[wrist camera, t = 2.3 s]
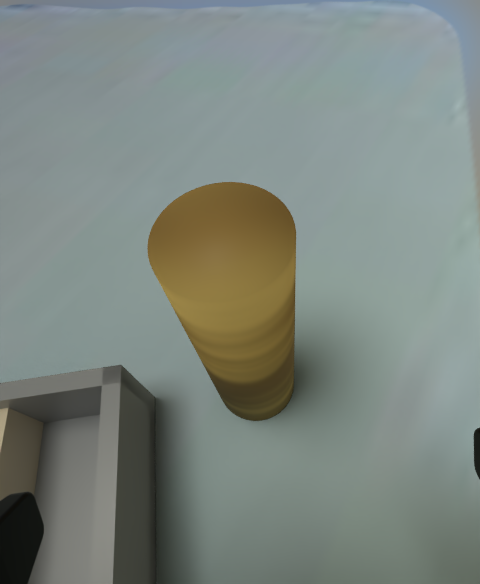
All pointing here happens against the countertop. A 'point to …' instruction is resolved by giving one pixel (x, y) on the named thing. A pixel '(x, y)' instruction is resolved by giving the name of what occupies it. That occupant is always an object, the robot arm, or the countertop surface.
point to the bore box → (84, 473)
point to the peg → (233, 289)
